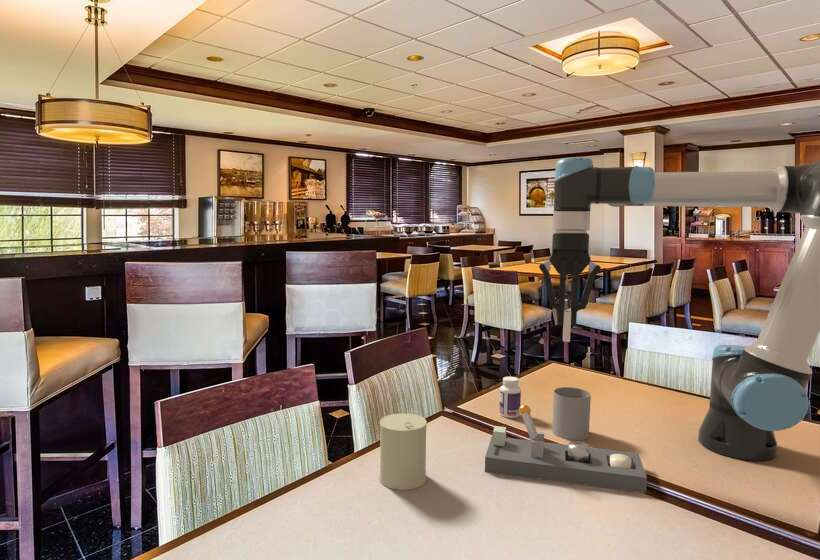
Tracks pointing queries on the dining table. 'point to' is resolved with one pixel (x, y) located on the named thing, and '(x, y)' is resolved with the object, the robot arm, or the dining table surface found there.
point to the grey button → (578, 452)
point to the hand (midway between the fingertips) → (566, 340)
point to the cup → (571, 413)
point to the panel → (564, 464)
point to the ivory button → (620, 461)
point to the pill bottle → (510, 398)
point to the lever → (528, 422)
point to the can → (402, 451)
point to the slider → (499, 436)
